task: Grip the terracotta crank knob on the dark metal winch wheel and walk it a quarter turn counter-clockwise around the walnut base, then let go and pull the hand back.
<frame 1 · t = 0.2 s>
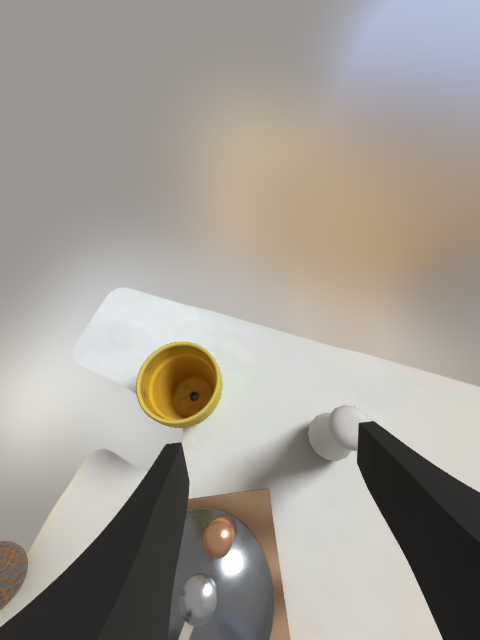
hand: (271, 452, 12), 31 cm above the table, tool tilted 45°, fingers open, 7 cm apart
salt shaker: (327, 437, 40), on the table
crank wheel: (195, 604, 29), point 5 cm above the table, hinge at 0.0°
vase: (12, 569, 36), on the table
plant pot: (195, 397, 44), on the table
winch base: (204, 587, 34), on the table
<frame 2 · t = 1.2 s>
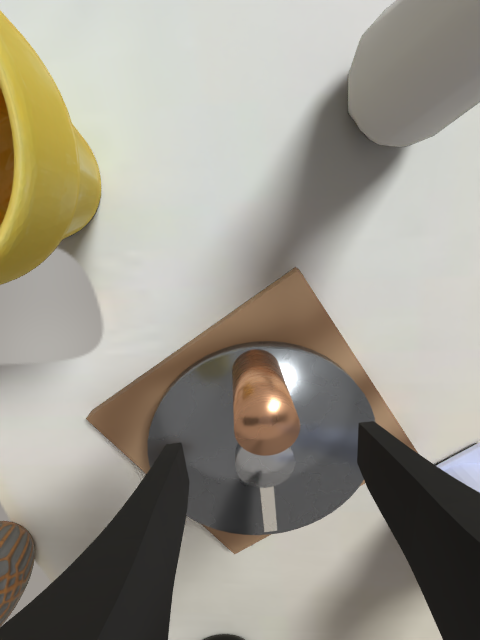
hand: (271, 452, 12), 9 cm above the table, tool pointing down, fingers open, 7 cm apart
salt shaker: (382, 99, 16), on the table
crank wheel: (267, 478, 18), point 5 cm above the table, hinge at 0.0°
vase: (9, 534, 26), on the table
plant pot: (45, 175, 17), on the table
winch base: (259, 428, 23), on the table
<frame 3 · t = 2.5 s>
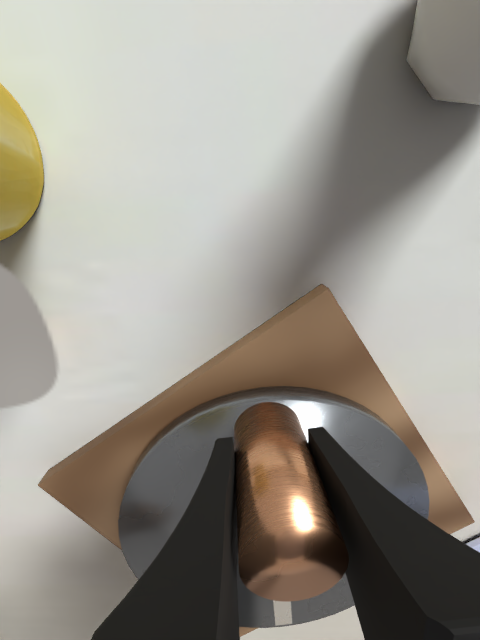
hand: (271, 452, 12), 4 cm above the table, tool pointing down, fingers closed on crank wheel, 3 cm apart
salt shaker: (456, 39, 11), on the table
crank wheel: (283, 580, 13), point 5 cm above the table, hinge at 0.0°, touching gripper
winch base: (269, 489, 18), on the table
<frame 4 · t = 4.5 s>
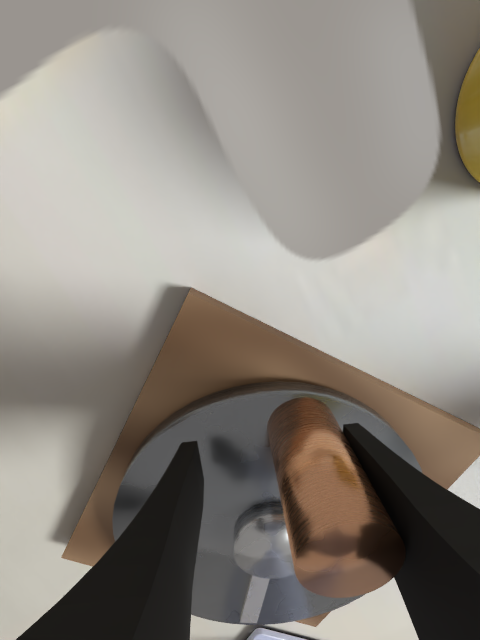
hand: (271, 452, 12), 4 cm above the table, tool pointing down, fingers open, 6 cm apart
crank wheel: (279, 577, 13), point 5 cm above the table, hinge at 48.7°, touching gripper
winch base: (265, 486, 17), on the table
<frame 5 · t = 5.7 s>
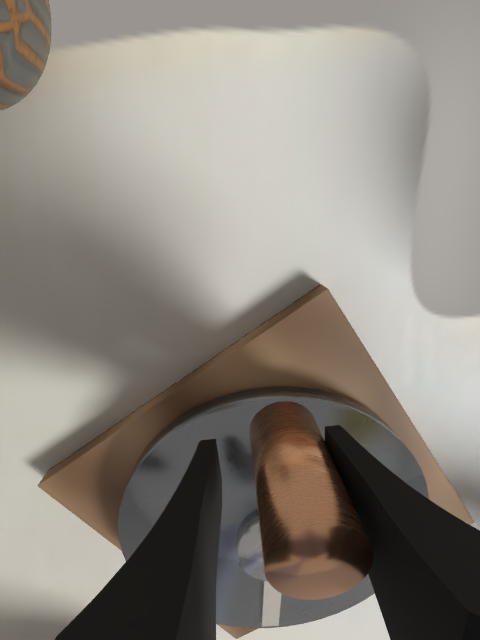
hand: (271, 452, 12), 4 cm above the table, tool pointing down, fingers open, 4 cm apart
crank wheel: (283, 580, 13), point 5 cm above the table, hinge at 83.7°, touching gripper
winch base: (268, 489, 18), on the table
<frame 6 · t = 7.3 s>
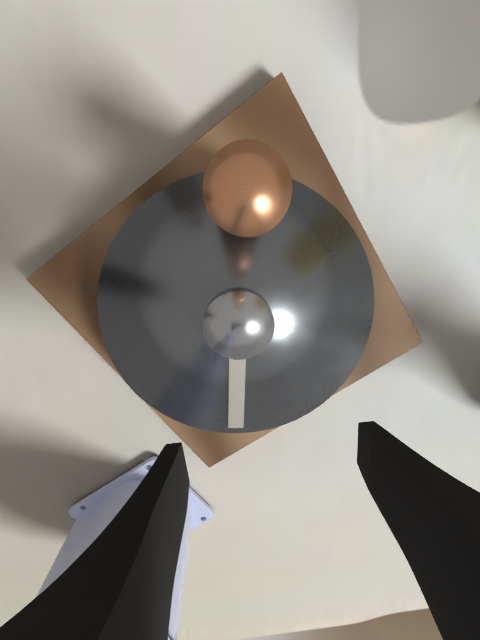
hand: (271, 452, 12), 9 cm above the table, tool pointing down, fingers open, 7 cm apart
crank wheel: (239, 334, 15), point 5 cm above the table, hinge at 83.8°
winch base: (237, 308, 19), on the table
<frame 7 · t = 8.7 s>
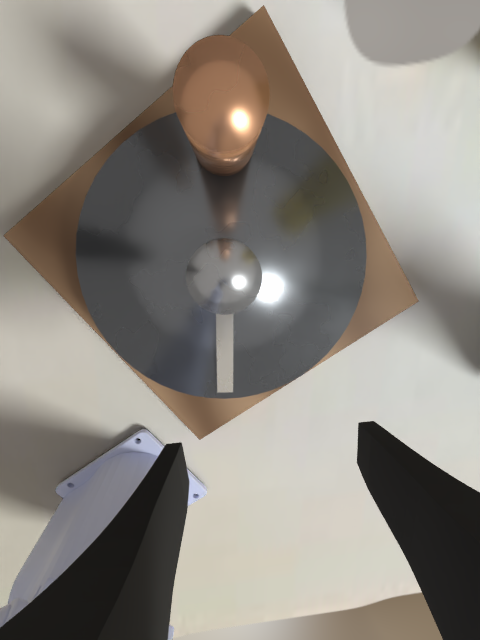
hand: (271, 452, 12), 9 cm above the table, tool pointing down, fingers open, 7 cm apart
crank wheel: (224, 282, 14), point 5 cm above the table, hinge at 83.8°
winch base: (224, 268, 19), on the table
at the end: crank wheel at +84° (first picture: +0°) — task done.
